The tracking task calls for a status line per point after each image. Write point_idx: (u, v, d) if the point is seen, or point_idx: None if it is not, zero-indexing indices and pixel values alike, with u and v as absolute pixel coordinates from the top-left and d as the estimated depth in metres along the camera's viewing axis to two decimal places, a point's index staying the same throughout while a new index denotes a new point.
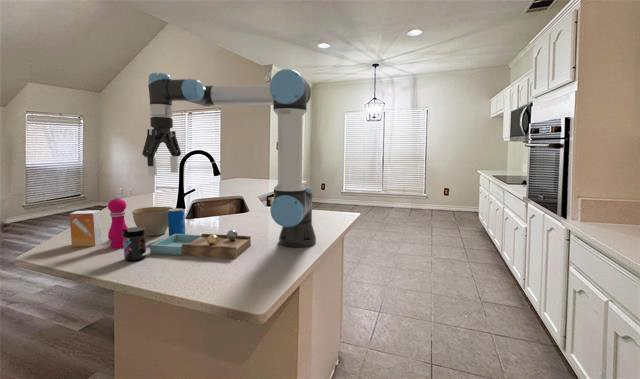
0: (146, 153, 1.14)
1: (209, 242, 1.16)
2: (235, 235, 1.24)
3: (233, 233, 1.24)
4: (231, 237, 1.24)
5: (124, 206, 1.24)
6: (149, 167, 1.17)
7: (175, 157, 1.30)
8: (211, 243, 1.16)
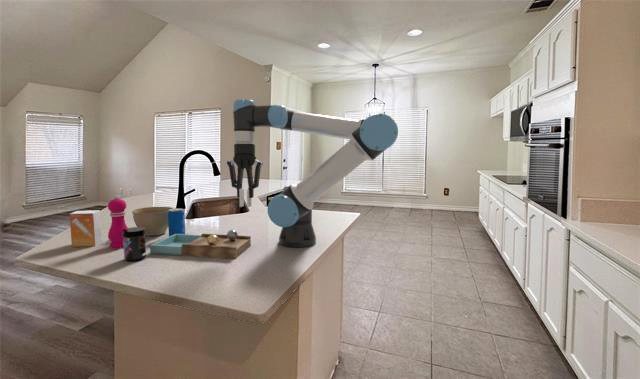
0: None
1: (209, 242, 1.16)
2: (235, 235, 1.24)
3: (233, 233, 1.24)
4: (231, 237, 1.24)
5: (124, 206, 1.24)
6: None
7: None
8: (211, 243, 1.16)
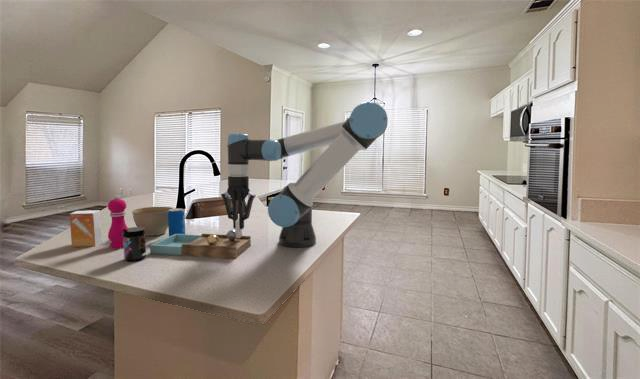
0: None
1: (209, 242, 1.16)
2: (235, 235, 1.24)
3: (233, 233, 1.24)
4: (231, 237, 1.24)
5: (124, 206, 1.24)
6: None
7: None
8: (211, 243, 1.16)
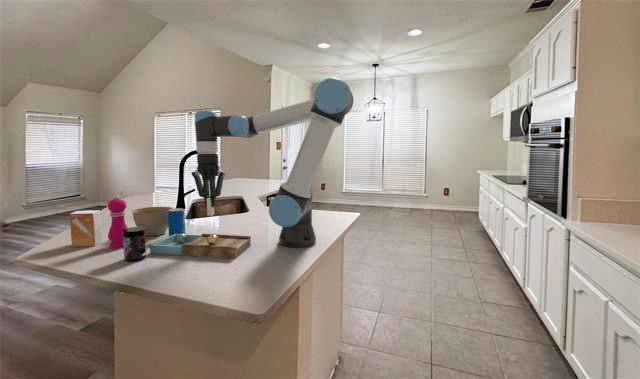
0: None
1: (209, 242, 1.16)
2: (180, 243, 1.28)
3: (181, 242, 1.27)
4: (177, 240, 1.27)
5: (124, 206, 1.24)
6: None
7: None
8: (211, 243, 1.16)
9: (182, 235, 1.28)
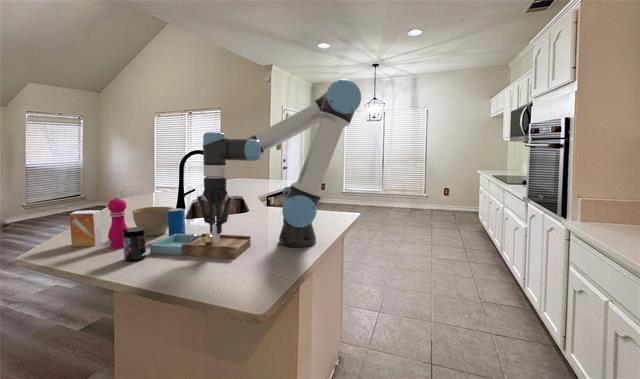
0: None
1: (206, 242, 1.16)
2: (189, 236, 1.27)
3: None
4: (190, 238, 1.26)
5: (124, 206, 1.24)
6: None
7: None
8: (208, 242, 1.16)
9: None
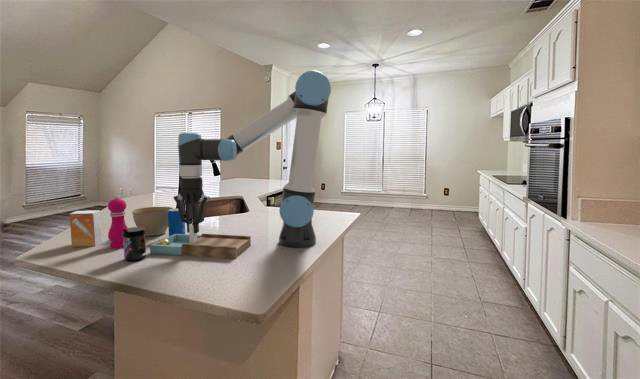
0: None
1: None
2: None
3: None
4: None
5: (124, 206, 1.24)
6: None
7: None
8: (159, 244, 1.19)
9: None
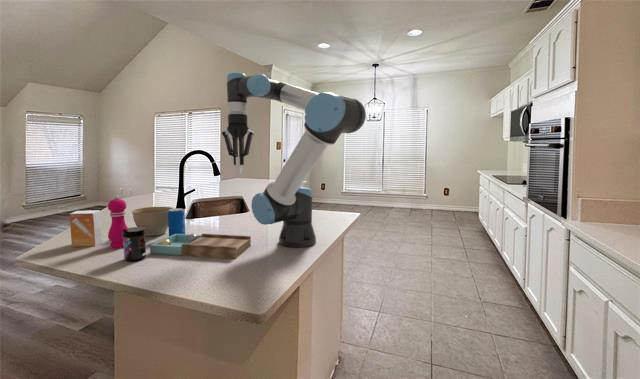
0: None
1: None
2: (188, 236, 1.27)
3: (187, 238, 1.27)
4: (190, 238, 1.26)
5: (124, 206, 1.24)
6: None
7: None
8: None
9: None
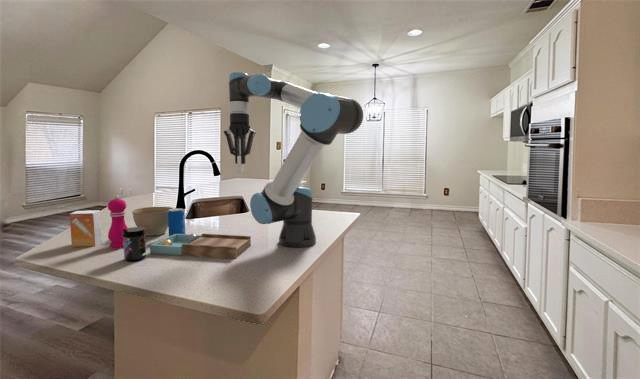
0: None
1: None
2: None
3: None
4: (189, 238, 1.26)
5: (124, 206, 1.24)
6: None
7: None
8: None
9: None
